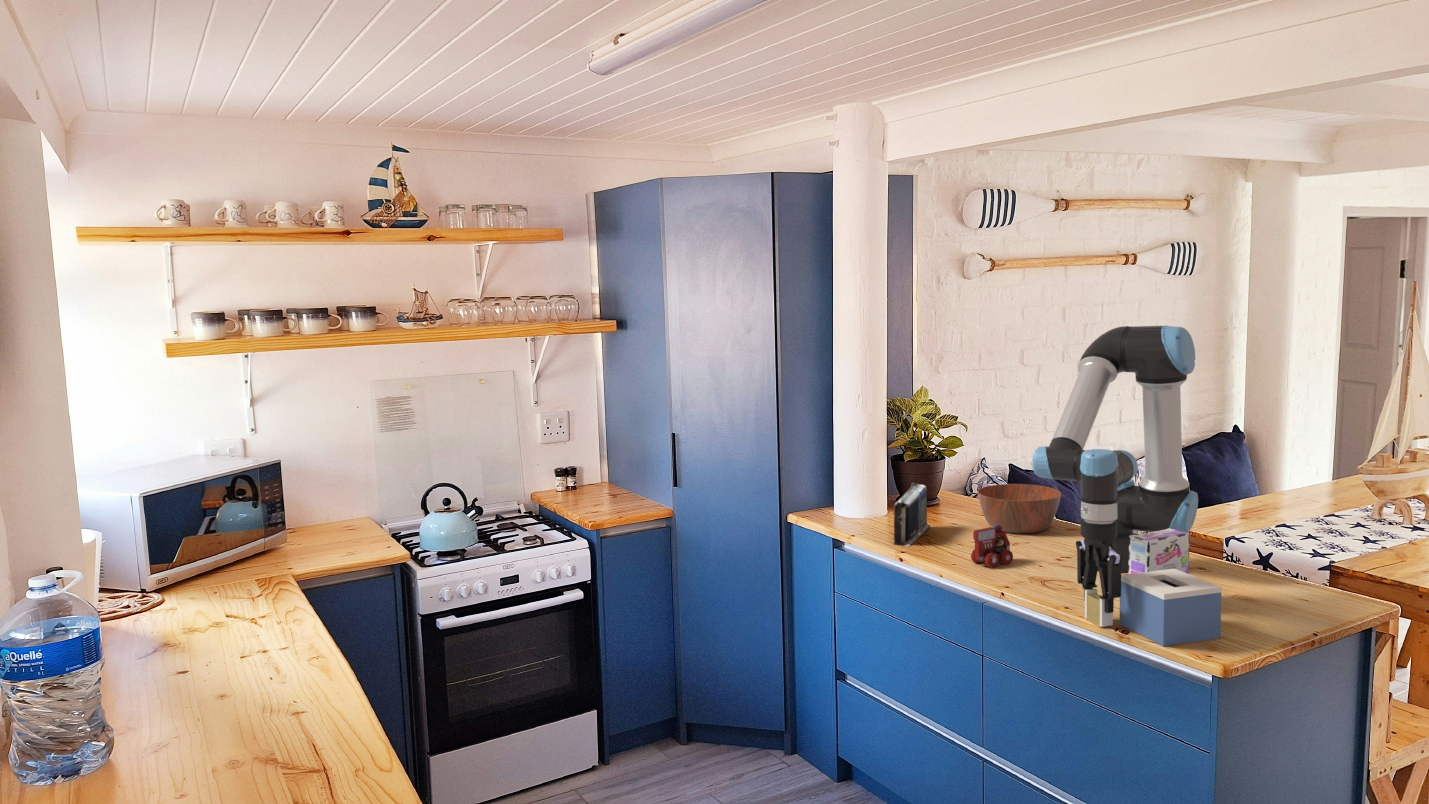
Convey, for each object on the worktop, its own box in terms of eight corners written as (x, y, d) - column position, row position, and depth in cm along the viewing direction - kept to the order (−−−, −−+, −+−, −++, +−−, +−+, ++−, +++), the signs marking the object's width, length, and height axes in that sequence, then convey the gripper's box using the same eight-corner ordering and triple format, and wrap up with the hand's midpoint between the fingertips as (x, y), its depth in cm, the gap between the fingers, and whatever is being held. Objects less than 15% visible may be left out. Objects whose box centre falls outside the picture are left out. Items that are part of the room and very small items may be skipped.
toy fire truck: (1018, 562, 256) (1018, 525, 255) (984, 570, 251) (984, 532, 250) (999, 556, 263) (999, 520, 261) (966, 564, 257) (966, 527, 256)
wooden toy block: (1086, 619, 211) (1086, 594, 210) (1095, 618, 212) (1096, 593, 211) (1100, 627, 206) (1100, 601, 205) (1109, 626, 207) (1110, 599, 206)
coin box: (1119, 623, 208) (1119, 575, 206) (1173, 616, 211) (1174, 568, 210) (1163, 646, 194) (1164, 594, 193) (1220, 638, 197) (1221, 586, 196)
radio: (907, 548, 275) (906, 498, 274) (880, 544, 280) (879, 495, 278) (936, 530, 294) (936, 483, 293) (910, 527, 299) (910, 481, 297)
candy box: (1147, 609, 216) (1148, 540, 214) (1126, 602, 221) (1127, 534, 220) (1189, 599, 222) (1191, 532, 220) (1168, 592, 227) (1169, 526, 225)
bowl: (1069, 522, 296) (1069, 487, 295) (1050, 541, 276) (1050, 503, 274) (990, 515, 310) (990, 481, 309) (967, 533, 289) (966, 496, 288)
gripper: (1060, 512, 214) (1060, 610, 217) (1109, 531, 197) (1109, 637, 199) (1088, 509, 215) (1088, 606, 218) (1140, 527, 198) (1139, 632, 201)
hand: (1098, 621), depth 209 cm, fingers closed on wooden toy block, 5 cm apart
